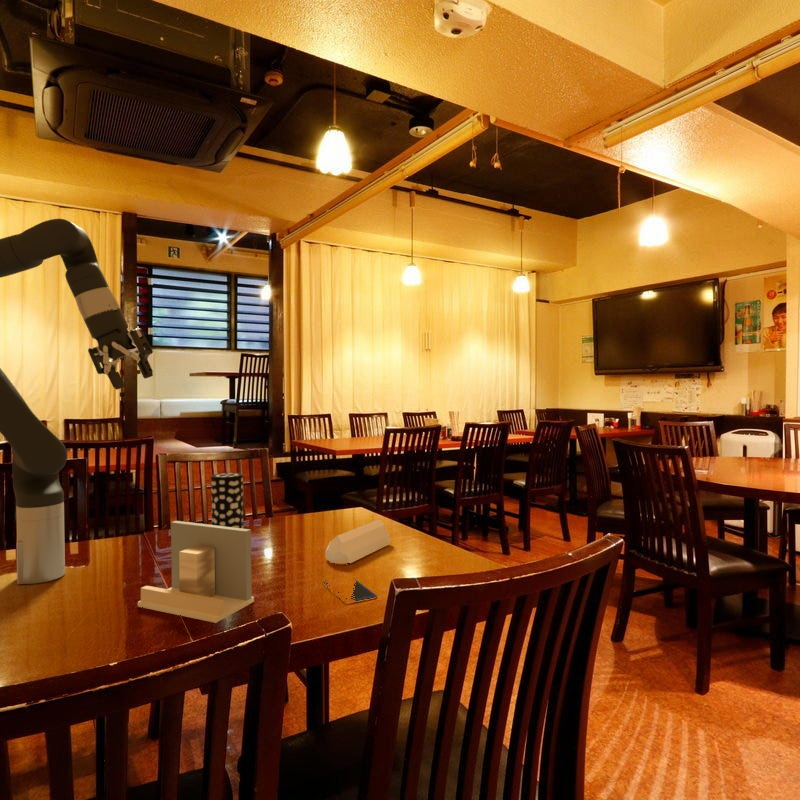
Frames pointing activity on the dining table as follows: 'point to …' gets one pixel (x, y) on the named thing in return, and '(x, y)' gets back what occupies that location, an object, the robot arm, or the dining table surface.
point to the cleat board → (229, 573)
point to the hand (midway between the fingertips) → (134, 382)
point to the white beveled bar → (358, 543)
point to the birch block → (197, 571)
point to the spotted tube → (227, 499)
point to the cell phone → (360, 592)
